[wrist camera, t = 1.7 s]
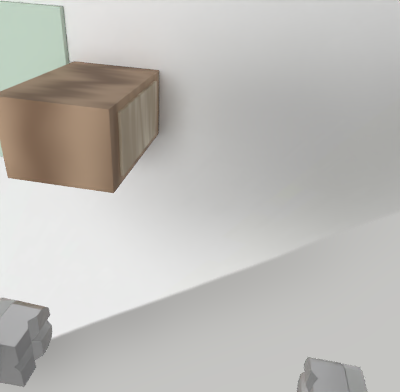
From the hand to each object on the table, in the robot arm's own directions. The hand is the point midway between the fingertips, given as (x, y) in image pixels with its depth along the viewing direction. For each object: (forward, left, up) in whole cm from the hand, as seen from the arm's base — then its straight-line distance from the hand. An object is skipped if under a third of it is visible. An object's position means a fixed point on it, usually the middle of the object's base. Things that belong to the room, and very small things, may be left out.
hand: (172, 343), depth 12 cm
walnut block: (+11, +1, -26) cm, 28 cm away
